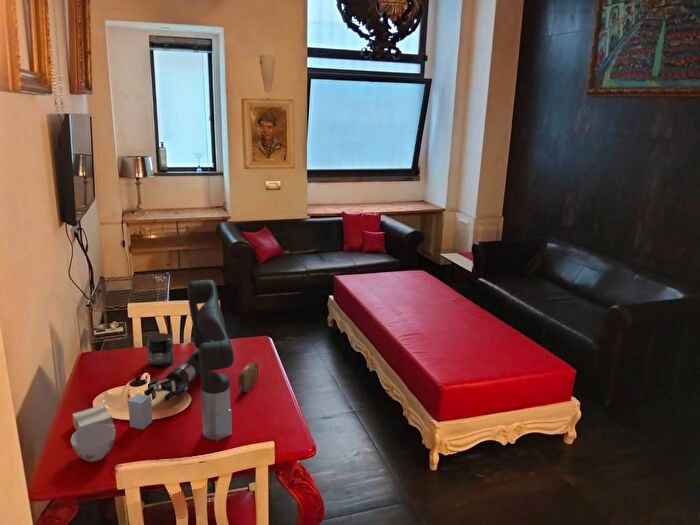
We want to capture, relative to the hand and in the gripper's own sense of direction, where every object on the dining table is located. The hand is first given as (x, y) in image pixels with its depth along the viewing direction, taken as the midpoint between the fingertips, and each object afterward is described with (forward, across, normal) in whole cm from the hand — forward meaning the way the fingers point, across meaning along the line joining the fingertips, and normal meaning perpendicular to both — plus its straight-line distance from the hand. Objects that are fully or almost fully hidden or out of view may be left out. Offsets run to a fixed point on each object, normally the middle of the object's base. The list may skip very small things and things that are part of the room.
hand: (155, 396), depth 193 cm
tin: (-28, +23, +6) cm, 37 cm away
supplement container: (-34, -21, +6) cm, 40 cm away
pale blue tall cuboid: (+8, 0, +6) cm, 10 cm away
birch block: (+16, -14, +6) cm, 22 cm away
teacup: (+27, -2, +6) cm, 28 cm away
